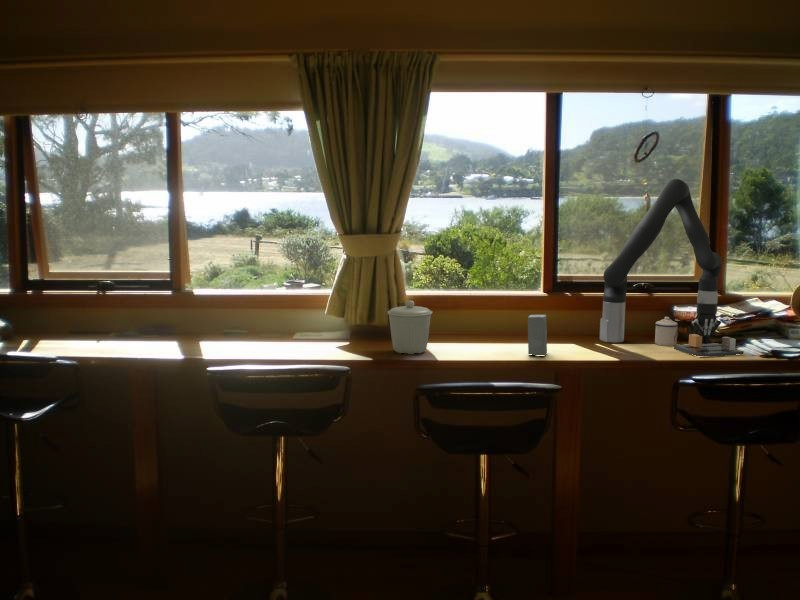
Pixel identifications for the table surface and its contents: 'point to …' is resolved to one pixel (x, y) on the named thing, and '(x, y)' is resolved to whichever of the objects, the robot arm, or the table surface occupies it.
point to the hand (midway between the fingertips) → (704, 343)
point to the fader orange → (695, 340)
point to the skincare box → (537, 334)
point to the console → (707, 350)
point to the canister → (409, 328)
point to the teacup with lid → (666, 332)
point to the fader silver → (728, 343)
